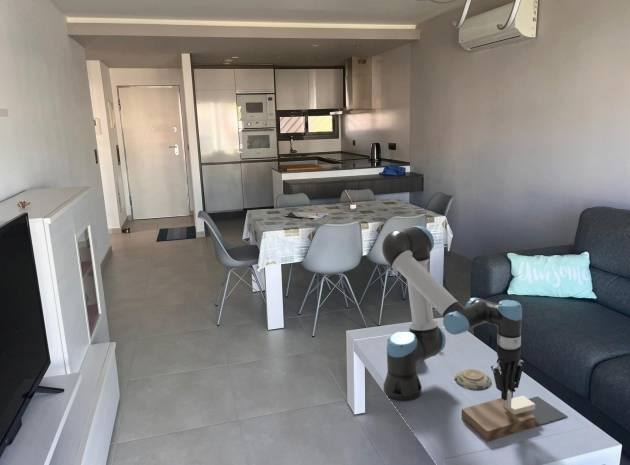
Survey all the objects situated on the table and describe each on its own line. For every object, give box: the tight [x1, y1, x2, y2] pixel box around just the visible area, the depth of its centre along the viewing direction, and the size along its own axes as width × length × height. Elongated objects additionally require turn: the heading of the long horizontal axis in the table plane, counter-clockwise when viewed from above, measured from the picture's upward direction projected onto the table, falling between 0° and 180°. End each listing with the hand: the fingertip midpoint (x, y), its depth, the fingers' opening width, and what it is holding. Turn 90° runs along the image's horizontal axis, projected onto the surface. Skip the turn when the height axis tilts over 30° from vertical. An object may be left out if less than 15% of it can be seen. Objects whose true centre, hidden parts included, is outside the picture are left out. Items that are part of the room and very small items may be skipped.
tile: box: [502, 395, 535, 415], centre depth 171 cm, size 9×6×2 cm, turn 108°
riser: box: [461, 397, 536, 443], centre depth 169 cm, size 20×14×4 cm
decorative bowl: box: [453, 368, 493, 391], centre depth 197 cm, size 15×4×15 cm
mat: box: [528, 395, 568, 427], centre depth 175 cm, size 14×14×1 cm
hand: (506, 406), depth 169 cm, fingers closed
